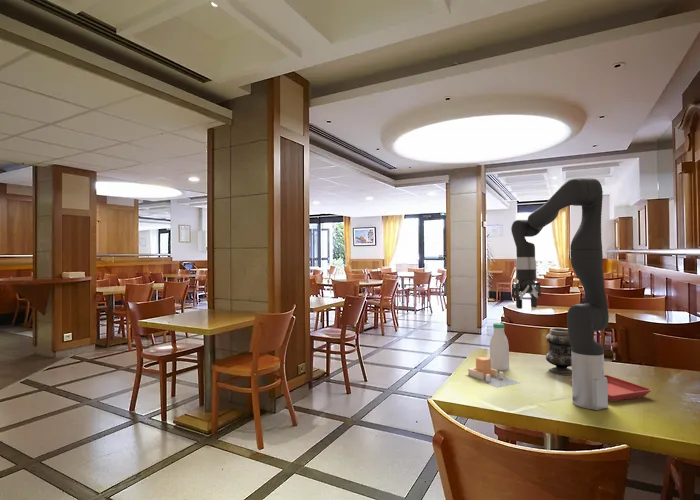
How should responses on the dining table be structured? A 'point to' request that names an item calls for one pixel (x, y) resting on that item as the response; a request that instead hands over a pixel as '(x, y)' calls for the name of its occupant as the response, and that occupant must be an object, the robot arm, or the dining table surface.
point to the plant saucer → (623, 389)
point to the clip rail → (494, 379)
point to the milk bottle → (499, 348)
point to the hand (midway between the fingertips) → (526, 307)
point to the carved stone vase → (559, 351)
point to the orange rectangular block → (483, 365)
